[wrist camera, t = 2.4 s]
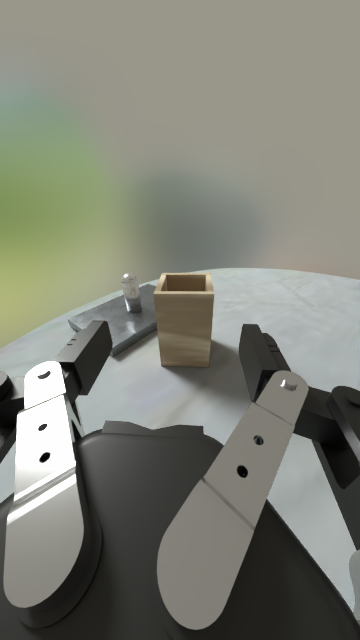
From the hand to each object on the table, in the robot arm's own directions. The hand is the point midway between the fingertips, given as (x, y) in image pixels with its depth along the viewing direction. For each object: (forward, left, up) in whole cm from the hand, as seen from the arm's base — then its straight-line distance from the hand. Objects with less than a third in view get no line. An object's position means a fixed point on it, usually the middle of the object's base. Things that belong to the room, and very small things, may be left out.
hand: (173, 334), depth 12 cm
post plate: (-11, -20, -11) cm, 25 cm away
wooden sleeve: (-9, -7, -11) cm, 16 cm away
